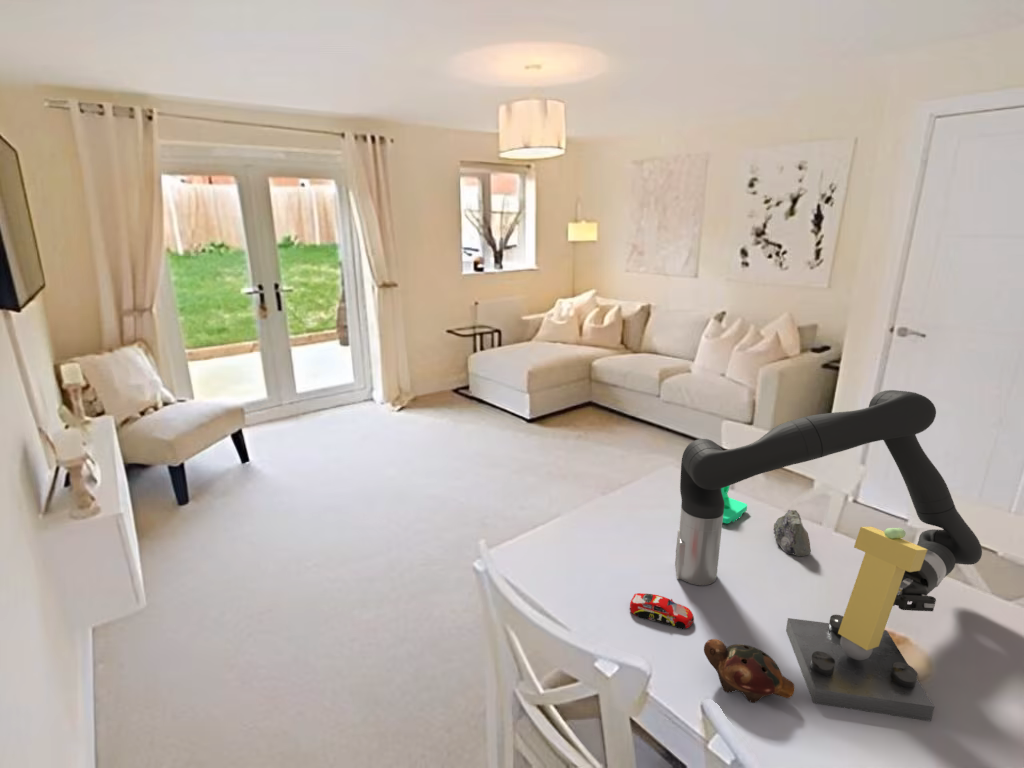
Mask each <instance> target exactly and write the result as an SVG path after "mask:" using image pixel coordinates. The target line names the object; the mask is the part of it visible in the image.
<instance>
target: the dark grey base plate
mask: <svg viewBox="0 0 1024 768" xmlns="http://www.w3.org/2000/svg"><path fill="white" fill-rule="evenodd" d="M843 617H844V615H841V614H831V616H830V618H829V622H823V621H822V622H821V621H814V620H806V619H797V618H790V617H787V621H786V626H785V627H786V628H785V632H786V634H787V636H788V640H789V642H790V645H791V647H792V650H793V653H794V656H795V658H796V661H797V663H798V666H799V669H800V671H801V673H802V676H803V679H804V683H805V684H806V685H805V686H806V687H807V689H808V693H809V695H810V698H811V700H812V703H813V704H818V705H824V706H833V707H839V708H844V707H845V708H844V709H850V708H852V709H851V710H856V709H859V710H858V711H864V712H871V713H877V714H882V713H883V714H884V715H889V714H890V716H894V717H895V716H896V717H903V718H909V719H916V720H922V721H929V722H931V721H932V718H933V714H934V710H935V705H934V704H933V702H932V701H931V699H930V698H929V696H928V694H927V692H926V691H925V688H923V686H922V684H921V683H920V681H919V680H918V674H919V673H918V672H917V670H916V669H915V668H913V667H912V666H910V665H909V663H907V660H906V659H905V657H904V655H903V654H902V652H901V651H900V649H899V647H898V646H897V645H896V643H895V641H894V640H893V638H892V637H891V634H890V633H889V632H888V630H885V629H884V632H883V635H882V638H881V641H880V644H879V647H876V648H873V651H872V654H871V655H870V657H869V658H867V659H865V660H855V659H853V658H851V657H849V656H848V655H847V654H846V653H845V652H844V651H843V649H842V647H841V643H840V640H841V635H840V634H838V631H839V628H840V625H841V622H842V620H843Z"/></svg>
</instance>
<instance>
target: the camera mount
mask: <svg viewBox="0 0 1024 768" xmlns="http://www.w3.org/2000/svg"><path fill="white" fill-rule="evenodd" d="M730 487H731V485H729V486H727V487H724V488H721V492H722V496H723V499H724V513H723V522H722V524H730V523H733V522H734V521H735V520H736V519H738V518H739V517H741V516H743V514H744V513H745V512H747V511H748V510H747V509H748V504H747V503H745V502H743V501H740V500H737V499H734V498H732V497H729V491H730ZM741 518H742V517H741ZM739 519H740V518H739ZM739 519H738V520H739ZM731 521H733V522H731ZM736 521H737V520H736ZM736 521H735V522H736ZM735 522H734V523H735Z"/></svg>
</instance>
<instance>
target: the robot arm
mask: <svg viewBox="0 0 1024 768" xmlns="http://www.w3.org/2000/svg"><path fill="white" fill-rule="evenodd" d="M936 415H937V409H936V407H935V404H934V402H932V400H931V399H929V398H928V397H927V396H925V395H923V394H920V393H917V392H914V391H906V390H905V391H904V390H893V389H889V390H883V391H880V392H878V393H876V394H874V396H872V398H871V400H870V401H869V404H868V407H865V408H861V409H856V410H850V411H848V410H847V411H839V412H835V411H834V412H828V413H820V414H819V413H818V414H812V415H807V416H803V417H800V418H796V419H793V420H790V421H786V422H783V423H781V424H779V425H776V426H775V427H773V428H772V429H771V430H769V431H768V432H767V433H765V434H764V435H763V436H762V437H760V438H759V439H757V440H756V441H753V442H751V443H749V444H747V445H744V446H739V447H734V448H730V449H723V448H721V447H720V445H719V444H717V443H716V442H714V441H713V440H711V439H708V438H700V439H695V440H692V441H691V442H690V443H689V444H688V445H687V446H686V448H685V449H684V450H683V453H682V456H681V461H680V462H681V463H680V480H679V482H680V483H679V484H680V485H679V488H680V489H679V491H680V498H681V505H680V517H679V518H680V519H679V529H678V530H677V536H676V549H675V550H676V551H675V561H674V564H675V565H674V566H675V575H676V579H677V580H681V581H683V582H686V583H688V584H690V585H695V586H708V585H712V584H714V582H716V580H717V576H718V566H719V558H720V547H721V540H722V530H723V513H724V499H723V496H722V492H721V488H724V487H727V486H729V485H730V486H732V485H734V484H737V483H740V482H742V481H745V480H747V479H750V478H753V477H755V476H758V475H761V474H764V473H768V472H771V471H774V470H779V469H783V468H786V467H789V466H793V465H797V464H801V463H805V462H809V461H813V460H818V459H820V458H824V457H827V456H831V455H833V454H836V453H841V452H844V451H847V450H851V449H854V448H857V447H861V446H863V445H866V444H869V443H874V442H879V441H883V442H884V444H885V446H886V448H887V450H888V451H889V453H890V454H891V456H892V459H893V460H894V463H895V464H896V467H897V468H898V470H899V473H900V474H901V477H902V480H903V481H904V484H905V486H906V489H907V491H908V494H909V496H910V500H911V502H912V504H913V507H914V510H915V512H916V515H917V517H918V519H919V520H920V522H922V523H923V524H926V525H931V526H933V527H938V528H941V529H927V530H924V531H922V532H920V534H919V538H918V541H917V544H916V545H918V546H921V547H923V548H925V549H928V550H927V552H926V555H925V558H924V561H923V564H922V567H921V569H920V571H914V572H908V571H906V570H905V573H904V575H903V578H902V581H901V584H900V587H899V590H898V593H897V595H896V598H895V601H894V604H893V607H894V606H897V607H898V609H899V610H901V611H912V612H913V611H917V612H934V609H935V606H936V602H937V598H936V597H934V596H931V595H929V594H930V593H931V592H932V591H933V590H935V589H936V588H937V587H939V585H940V584H942V581H943V580H944V579H945V578H946V577H947V576H948V575H950V574H951V572H952V571H953V570H954V569H955V566H956V565H967V566H968V565H969V566H971V565H975V564H977V563H979V561H981V559H982V556H983V549H982V545H981V542H980V540H979V539H978V537H977V535H976V534H975V532H974V531H973V530H972V529H971V527H970V526H969V525H968V524H967V523H966V521H965V520H964V519H963V517H962V515H961V514H960V513H959V511H958V509H957V507H956V505H955V503H954V500H953V498H952V494H951V491H950V490H949V487H948V485H947V483H946V480H945V479H944V477H943V476H942V474H941V472H940V471H939V470H938V469H937V467H936V466H935V465H934V464H933V462H932V461H931V460H930V458H929V457H928V454H927V453H925V451H924V449H923V448H922V446H921V444H920V442H919V440H918V437H917V435H919V434H920V433H922V432H924V431H926V430H927V429H928V428H930V427H931V426H932V424H933V423H934V422H935V418H936ZM909 602H911V603H910V604H909Z"/></svg>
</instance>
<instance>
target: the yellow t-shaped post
mask: <svg viewBox="0 0 1024 768" xmlns="http://www.w3.org/2000/svg"><path fill="white" fill-rule="evenodd" d="M906 536H907V535H906V531H905V529H903V528H902V527H887V528H886V529H884V530H881V529H879V528H876V527H874V526H860V527H859V531H858V534H857V536H856V539H855V542H854V546H853V548H855V549H857V550H859V551H862V552H864V556H863V559H862V562H861V563H860V564H861V565H860V567H859V569H858V573H857V576H856V579H855V582H854V584H853V589H852V590H851V594H850V595H849V600H848V603H847V605H846V609H845V612H844V614H843V616H844V617H843V620H842V622H841V625H840V628H839V631H838V634H840V635H841V640H840V643H841V647H842V649H843V651H844V652H845V653H846V654H847V655H848V656H849V657H851V658H853V659H855V660H865V659H867V658H869V657H870V655H871V654H872V651H873V648H876V647H879V644H880V641H881V638H882V635H883V632H884V630H885V629H886V627H887V624H888V622H889V621H888V620H889V618H890V615H891V612H892V610H893V607H894V606H893V604H894V601H895V598H896V595H897V593H898V590H899V587H900V584H901V581H902V578H903V575H904V573H905V570H906V571H908V572H914V571H920V569H921V567H922V564H923V561H924V558H925V555H926V552H927V550H928V549H925V548H923V547H921V546H918V545H917V544H916V543H913V542H910V541H908V540H905V539H904V538H905V537H906Z"/></svg>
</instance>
